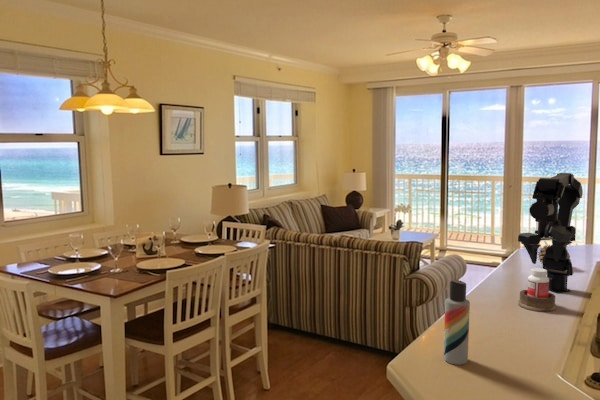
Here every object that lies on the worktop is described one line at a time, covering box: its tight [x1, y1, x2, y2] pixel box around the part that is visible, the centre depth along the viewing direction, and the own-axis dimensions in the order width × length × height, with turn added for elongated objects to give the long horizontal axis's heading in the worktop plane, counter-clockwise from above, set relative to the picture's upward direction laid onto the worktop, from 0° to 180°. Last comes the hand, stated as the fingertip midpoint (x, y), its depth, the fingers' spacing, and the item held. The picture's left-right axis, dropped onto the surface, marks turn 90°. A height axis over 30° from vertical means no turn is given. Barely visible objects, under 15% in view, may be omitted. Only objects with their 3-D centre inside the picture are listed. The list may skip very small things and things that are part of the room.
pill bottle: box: [526, 267, 550, 298], centre depth 161 cm, size 6×6×11 cm
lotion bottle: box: [443, 279, 471, 366], centre depth 121 cm, size 6×6×20 cm
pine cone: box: [537, 244, 552, 265], centre depth 213 cm, size 22×10×10 cm, turn 154°
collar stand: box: [517, 289, 557, 313], centre depth 161 cm, size 11×11×4 cm
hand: (545, 262), depth 166 cm, fingers open, 9 cm apart
